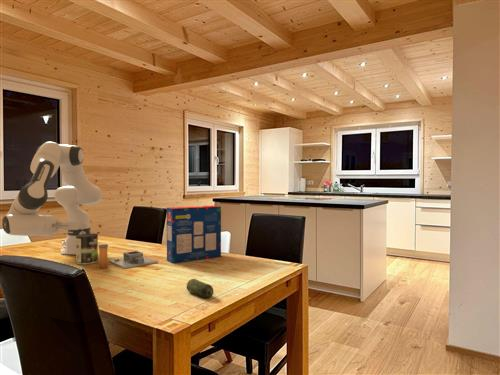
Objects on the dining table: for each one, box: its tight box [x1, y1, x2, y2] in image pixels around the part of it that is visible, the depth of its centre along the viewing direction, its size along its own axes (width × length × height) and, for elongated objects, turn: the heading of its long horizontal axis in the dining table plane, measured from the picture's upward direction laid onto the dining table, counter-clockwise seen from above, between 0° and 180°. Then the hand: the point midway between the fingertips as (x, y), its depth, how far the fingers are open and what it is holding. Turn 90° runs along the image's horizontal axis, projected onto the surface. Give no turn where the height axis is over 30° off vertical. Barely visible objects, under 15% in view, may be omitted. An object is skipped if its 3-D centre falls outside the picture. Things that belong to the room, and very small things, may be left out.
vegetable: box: [186, 278, 215, 299], centre depth 127 cm, size 14×5×5 cm, turn 42°
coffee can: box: [75, 233, 99, 265], centre depth 178 cm, size 10×10×14 cm
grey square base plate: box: [108, 250, 159, 270], centre depth 177 cm, size 18×18×5 cm
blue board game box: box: [166, 205, 222, 264], centre depth 186 cm, size 28×8×28 cm, turn 124°
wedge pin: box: [98, 243, 109, 270], centre depth 167 cm, size 4×4×11 cm
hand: (81, 225), depth 159 cm, fingers open, 8 cm apart
